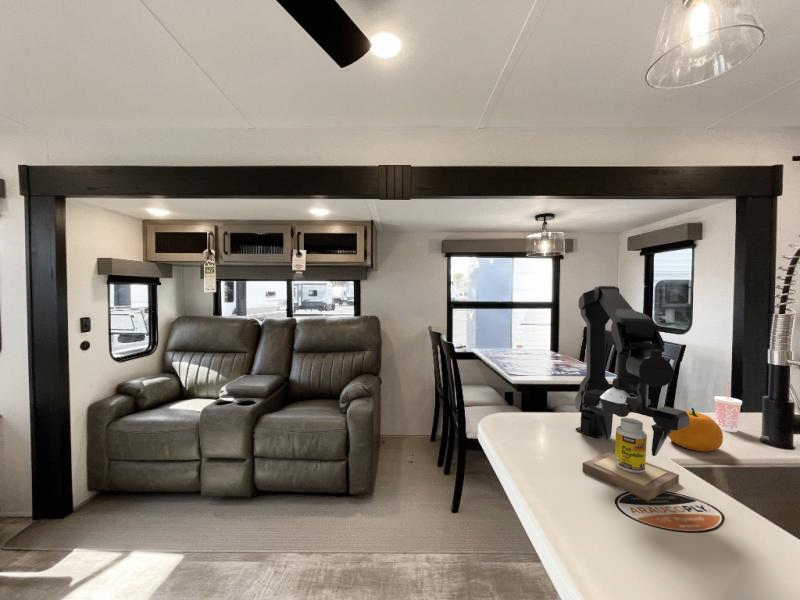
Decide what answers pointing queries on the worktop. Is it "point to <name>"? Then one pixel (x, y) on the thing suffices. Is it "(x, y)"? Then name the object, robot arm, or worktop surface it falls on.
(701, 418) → the fruit
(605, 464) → the brown picture frame
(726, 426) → the beverage cup
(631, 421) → the supplement bottle
